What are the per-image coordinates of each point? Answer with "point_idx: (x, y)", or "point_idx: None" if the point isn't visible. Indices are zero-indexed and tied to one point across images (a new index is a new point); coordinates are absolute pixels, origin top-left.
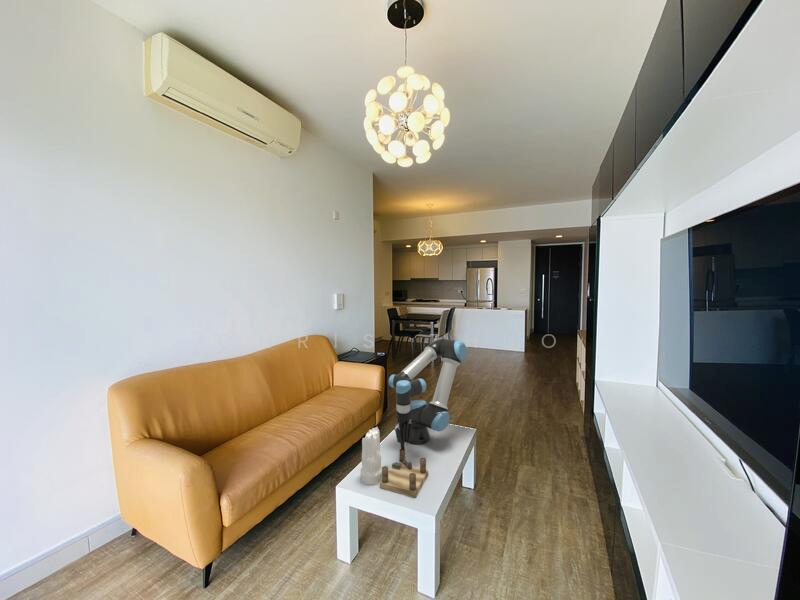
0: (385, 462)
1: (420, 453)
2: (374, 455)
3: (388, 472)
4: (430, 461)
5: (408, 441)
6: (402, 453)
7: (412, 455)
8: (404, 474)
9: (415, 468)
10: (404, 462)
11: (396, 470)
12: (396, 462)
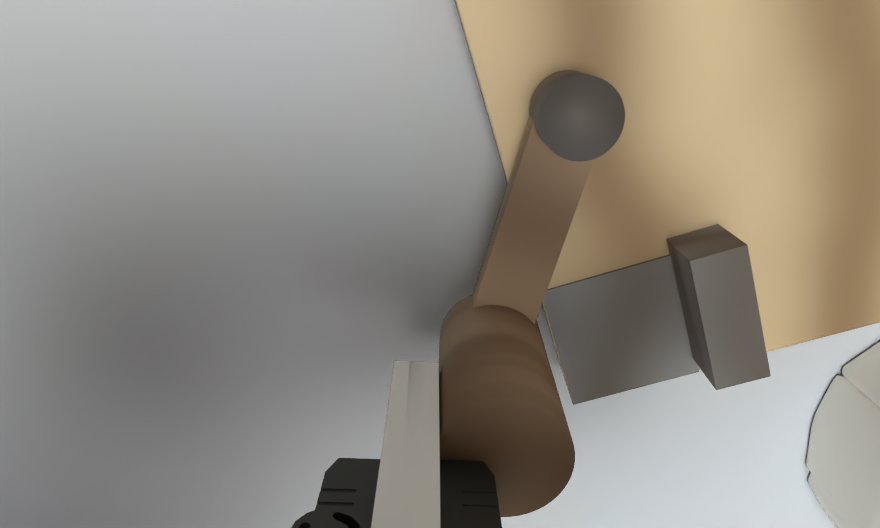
0: (562, 523)
1: (32, 306)
2: None
3: (875, 308)
4: (63, 35)
5: (308, 516)
6: (548, 389)
7: (167, 363)
8: (785, 60)
9: (509, 19)
10: (557, 257)
11: (756, 247)
12: (574, 385)
